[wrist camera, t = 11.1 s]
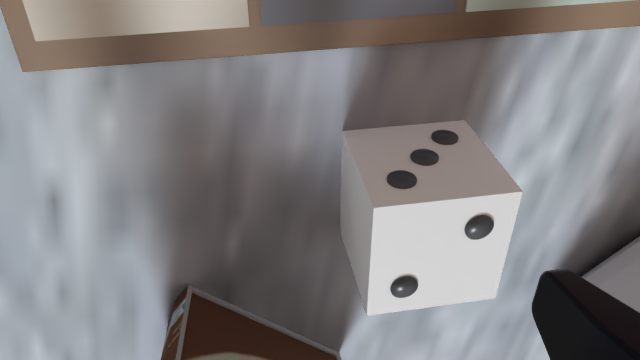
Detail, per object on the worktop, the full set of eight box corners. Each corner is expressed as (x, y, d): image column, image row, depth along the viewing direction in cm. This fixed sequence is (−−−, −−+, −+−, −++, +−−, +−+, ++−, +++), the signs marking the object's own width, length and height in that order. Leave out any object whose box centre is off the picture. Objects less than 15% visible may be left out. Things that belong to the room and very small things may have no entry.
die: (339, 229, 24) (367, 317, 20) (341, 128, 21) (374, 207, 17) (449, 216, 25) (498, 299, 21) (466, 117, 22) (526, 191, 18)
